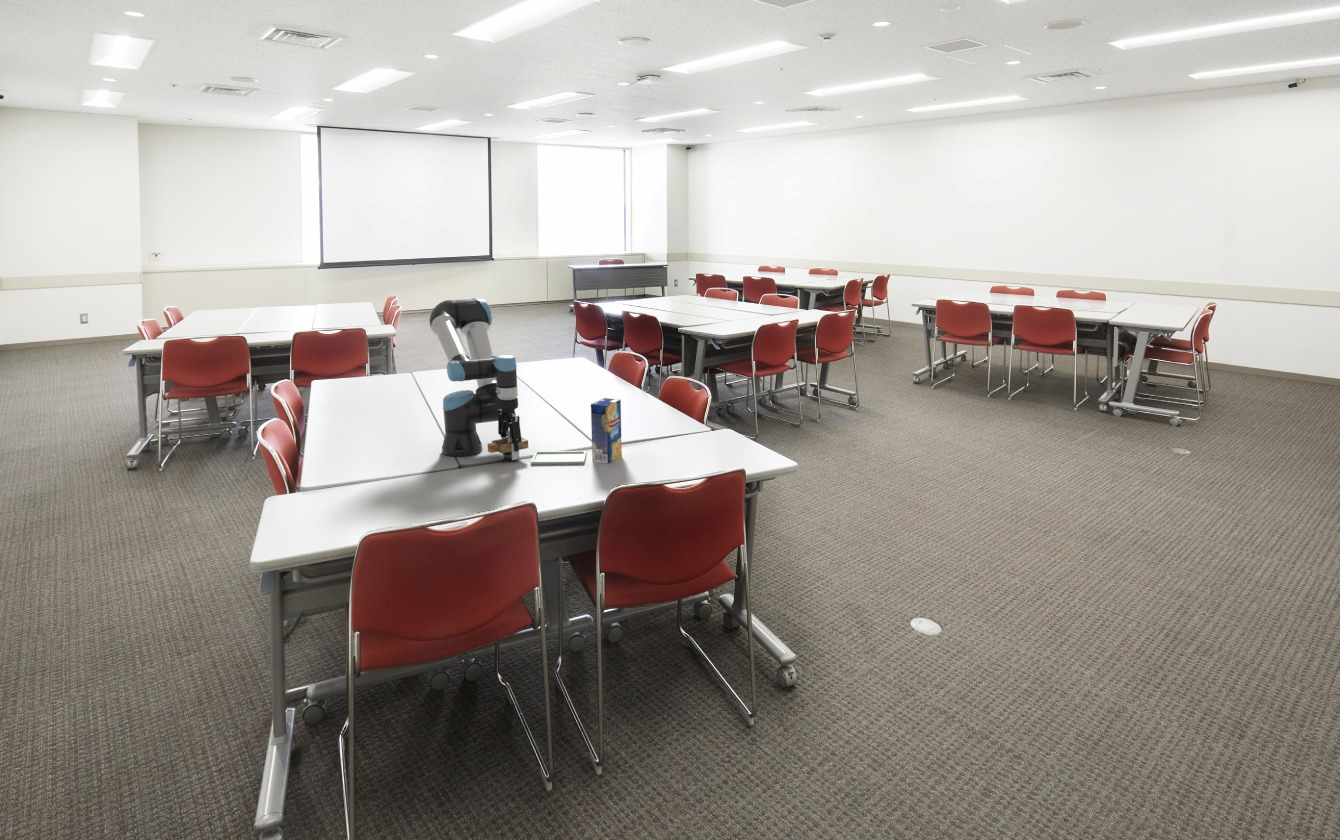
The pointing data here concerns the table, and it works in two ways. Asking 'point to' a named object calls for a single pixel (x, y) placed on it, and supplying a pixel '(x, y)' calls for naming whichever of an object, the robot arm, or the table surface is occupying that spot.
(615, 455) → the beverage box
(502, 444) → the wooden rectangular frame
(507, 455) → the gray post stand
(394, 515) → the table surface
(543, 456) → the tray
